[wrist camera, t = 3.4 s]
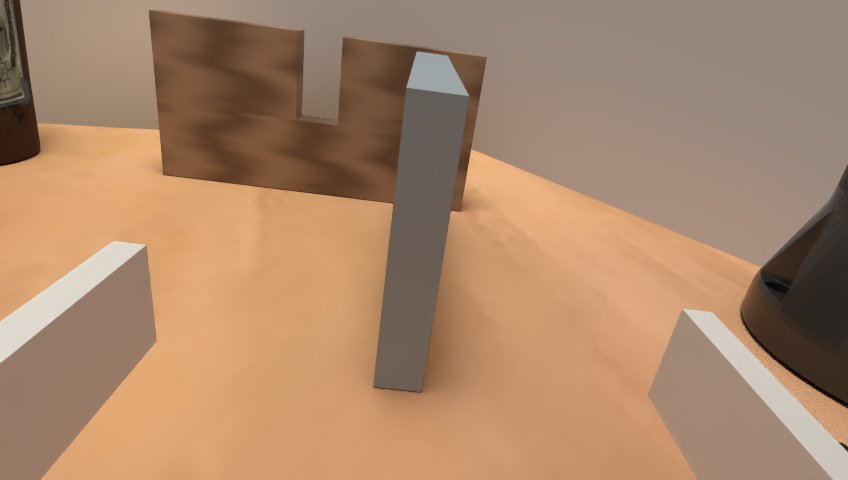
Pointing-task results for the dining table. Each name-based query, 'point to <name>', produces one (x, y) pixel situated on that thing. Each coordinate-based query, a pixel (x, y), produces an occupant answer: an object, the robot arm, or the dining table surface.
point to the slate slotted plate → (420, 218)
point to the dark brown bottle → (15, 89)
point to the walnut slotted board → (287, 108)
